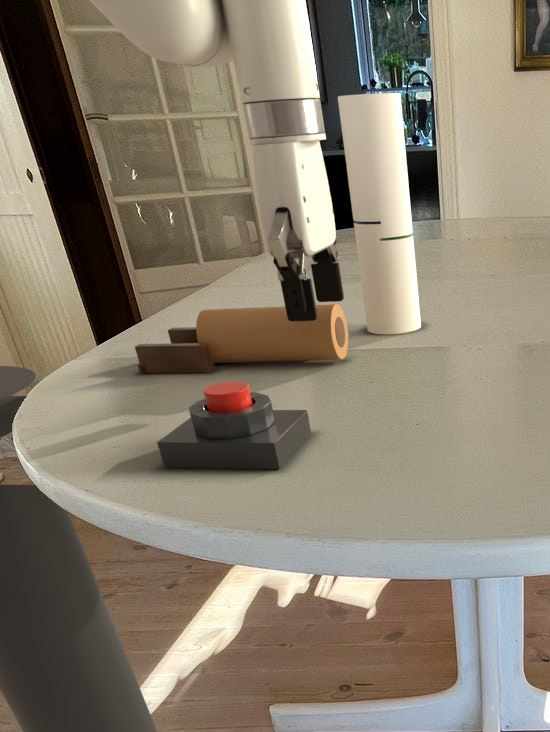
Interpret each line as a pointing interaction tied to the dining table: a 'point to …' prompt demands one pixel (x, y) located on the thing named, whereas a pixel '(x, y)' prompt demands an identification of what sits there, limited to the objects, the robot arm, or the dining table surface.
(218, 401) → the button
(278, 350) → the paper roll
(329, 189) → the robot arm
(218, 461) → the button box
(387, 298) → the cylindrical container
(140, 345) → the roll stand
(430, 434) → the dining table surface
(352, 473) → the dining table surface
